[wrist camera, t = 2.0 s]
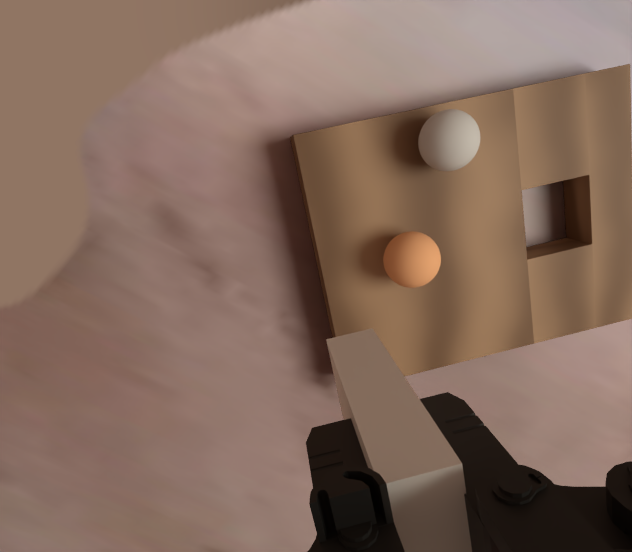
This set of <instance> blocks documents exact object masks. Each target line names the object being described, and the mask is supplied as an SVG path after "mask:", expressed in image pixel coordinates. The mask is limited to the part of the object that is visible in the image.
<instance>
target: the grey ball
mask: <svg viewBox="0 0 632 552" xmlns="http://www.w3.org/2000/svg"><path fill="white" fill-rule="evenodd" d="M479 145H480V131H479V127H478V125H477V123H476V121H475V120H474V119H473V118H472V117H471V116H470V115H469V114H467V113H466V112H464V111H461V110H456V109H447V110H443V111H440V112H438V113H436V114H434V115H432V116H431V117H430V118H429V119H428V120H427V121H426V122H425V124H424V125H423V127H422V129H421V131H420V134H419V139H418V146H419V151H420V154H421V156H422V158H423V160H424V161H425V162H426V163H427V164H428V165H429V166H431V167H432V168H434V169H436V170H440V171H454V170H457V169H460V168H462V167H464V166H465V165H467V164H468V163H469V162H470V161H471V160H472V159H473V158H474V156H475V155H476V153H477V151H478V148H479Z"/></svg>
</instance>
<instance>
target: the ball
mask: <svg viewBox="0 0 632 552" xmlns="http://www.w3.org/2000/svg"><path fill="white" fill-rule="evenodd" d="M383 263H384V268H385V271H386V273H387V275H388V276H389V277H390V278H391V279H392V280H393V281H394V282H395V283H397V284H398V285H400V286H403V287H408V288H416V287H420V286H423V285H426V284H427V283H429V282H430V281H431V280H432V279H433V278H434V277H435V276H436V274H437V273H438V271H439V268H440V264H441V255H440V251H439V248H438V246H437V245H436V243H435V242H434V241H433V240H432V239H431V238H430V237H429V236H427V235H425V234H423V233H420V232H414V231H410V232H404V233H401V234H399V235H397V236H396V237H394V238H393V239H392V240H391V241H390V242H389V244H388V245H387V247H386V249H385V252H384V256H383Z"/></svg>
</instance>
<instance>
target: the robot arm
mask: <svg viewBox="0 0 632 552" xmlns="http://www.w3.org/2000/svg"><path fill="white" fill-rule="evenodd" d="M326 341H327V346H328V351H329V355H330V360H331V365H332V369H333V374H334V378H335V383H336V388H337V392H338V397H339V401H340V406H341V411H342V415H343V418H344V420H342V421H338V422H334V423H330V424H326V425H322V426H318V427H314V428H312V430H311V432H310V434H309V437H308V439H307V441H306V446H307V452H308V458H309V464H310V470H311V477H312V483H313V489H312V491H311V494H310V503H309V504H310V508H311V512H312V516H313V519H314V523H315V527H316V531H317V536H316V539H315V541H314V543H313V545H312V547H311V548H310V549H309V551H308V552H632V462H625V463H622V464H619V465H616V466H614V467H613V468H612V469H611V470H610V471H609V472H608V473H607V477H606V487H570V486H559V485H555V484H553V483H552V481H551V480H550V479H548V478H547V477H546V476H544V475H543V474H542V473H541V472H539V471H537V470H535V469H532V468H530V467H527V466H524V465H518V464H517V462H516V461H515V460H514V459H513V458H512V457H511V455H510V454H509V453H508V452H507V451H506V449H505V448H504V447H503V446H502V445H501V444H500V442H499V441H498V440H497V439H496V438H495V436H494V435H493V434H492V433H491V432H490V431H489V429H488V428H487V427H486V426H484V424H483V422H482V421H481V420H480V419H479V418H478V416H476V415H475V413H474V412H473V410H472V409H471V408H470V407H469V406H468V405H467V403H466V402H465V401H464V400H462V399H460V398H458V397H456V396H454V395H452V394H450V393H448V392H447V393H443V394H439V395H435V396H431V397H427V398H423V399H419V398H418V396H417V395H416V393H415V392H414V390H413V389H412V387H411V386H410V384H409V383H408V381H407V380H406V378H405V377H404V375H403V374H402V372H401V371H400V369H399V368H398V366H397V365H396V363H395V362H394V360H393V359H392V357H391V356H390V354H389V353H388V351H387V349H386V348H385V346H384V345H383V343H382V342H381V340H380V339H379V337H378V336H377V334H376V333H375V331H374V330H373V328H371V329H367V330H363V331H359V332H355V333H351V334H347V335H342V336H338V337H334V338H330V339H326Z"/></svg>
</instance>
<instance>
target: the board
mask: <svg viewBox="0 0 632 552" xmlns="http://www.w3.org/2000/svg"><path fill="white" fill-rule="evenodd" d="M447 109H456V110H461V111H464V112H466V113H467V114H469V115H470V116H471V117H472V118H473V119H474V120H475V121H476V123H477V125H478V127H479V131H480V145H479V148H478V151H477V153H476V155H475V156H474V158H473V159H472V160H471V161H470V162H469V163H468V164H467V165H465V166H464V167H462V168H460V169H457V170H454V171H440V170H436V169H434V168H432V167H431V166H429V165H428V164H427V163H426V162H425V161H424V160H423V158H422V156H421V154H420V151H419V146H418V139H419V134H420V131H421V129H422V127H423V125H424V124H425V122H426V121H427V120H428V119H429V118H430V117H431V116H432V115H434V114H436V113H438V112H440V111H443V110H447ZM290 139H291V144H292V149H293V153H294V158H295V163H296V168H297V172H298V177H299V182H300V186H301V191H302V196H303V201H304V205H305V210H306V215H307V219H308V224H309V229H310V233H311V238H312V243H313V248H314V252H315V257H316V262H317V266H318V271H319V276H320V281H321V285H322V290H323V295H324V299H325V304H326V309H327V314H328V318H329V323H330V328H331V332H332V337H333V338H334V337H338V336H342V335H347V334H351V333H355V332H359V331H363V330H367V329H371V328H373V330H374V331H375V333H376V334H377V336H378V337H379V339H380V340H381V342H382V343H383V345H384V346H385V348H386V349H387V351H388V353H389V354H390V356H391V357H392V359H393V360H394V362H395V363H396V365H397V366H398V368H399V369H400V371H401V372H402V374H403V375H404V376H408V375H412V374H416V373H420V372H424V371H428V370H431V369H435V368H439V367H443V366H447V365H451V364H455V363H459V362H463V361H467V360H471V359H475V358H479V357H483V356H487V355H490V354H494V353H498V352H502V351H506V350H510V349H514V348H518V347H522V346H526V345H530V344H534V343H538V342H542V341H545V340H549V339H553V338H557V337H561V336H565V335H569V334H573V333H577V332H581V331H585V330H589V329H593V328H597V327H600V326H604V325H608V324H612V323H616V322H620V321H624V320H628V319H632V146H631V88H630V64H627V65H623V66H618V67H613V68H608V69H604V70H599V71H594V72H589V73H585V74H580V75H575V76H571V77H566V78H561V79H556V80H552V81H547V82H542V83H537V84H533V85H528V86H523V87H518V88H514V89H509V90H504V91H500V92H495V93H490V94H485V95H481V96H476V97H471V98H466V99H462V100H457V101H452V102H447V103H443V104H438V105H433V106H429V107H424V108H419V109H414V110H410V111H405V112H400V113H395V114H391V115H386V116H381V117H376V118H372V119H367V120H362V121H358V122H353V123H348V124H343V125H339V126H334V127H329V128H324V129H320V130H315V131H310V132H305V133H301V134H296V135H293V136H291V137H290ZM559 181H563V190H564V207H565V224H566V238H564V239H559V240H555V241H551V242H547V243H543V244H538V245H534V246H530V247H526V238H525V226H524V214H523V202H522V190H524V189H529V188H533V187H537V186H542V185H546V184H551V183H555V182H559ZM410 231H414V232H420V233H423V234H425V235H427V236H429V237H430V238H431V239H432V240H433V241H434V242H435V243H436V245H437V246H438V248H439V251H440V255H441V264H440V268H439V271H438V273H437V274H436V276H435V277H434V278H433V279H432V280H431V281H430V282H429V283H427V284H426V285H423V286H420V287H416V288H408V287H403V286H400V285H398V284H397V283H395V282H394V281H393V280H392V279H391V278H390V277H389V276H388V275H387V273H386V271H385V268H384V263H383V256H384V252H385V249H386V247H387V245H388V244H389V242H390V241H391V240H392V239H393V238H394V237H396V236H397V235H399V234H401V233H404V232H410Z"/></svg>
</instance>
